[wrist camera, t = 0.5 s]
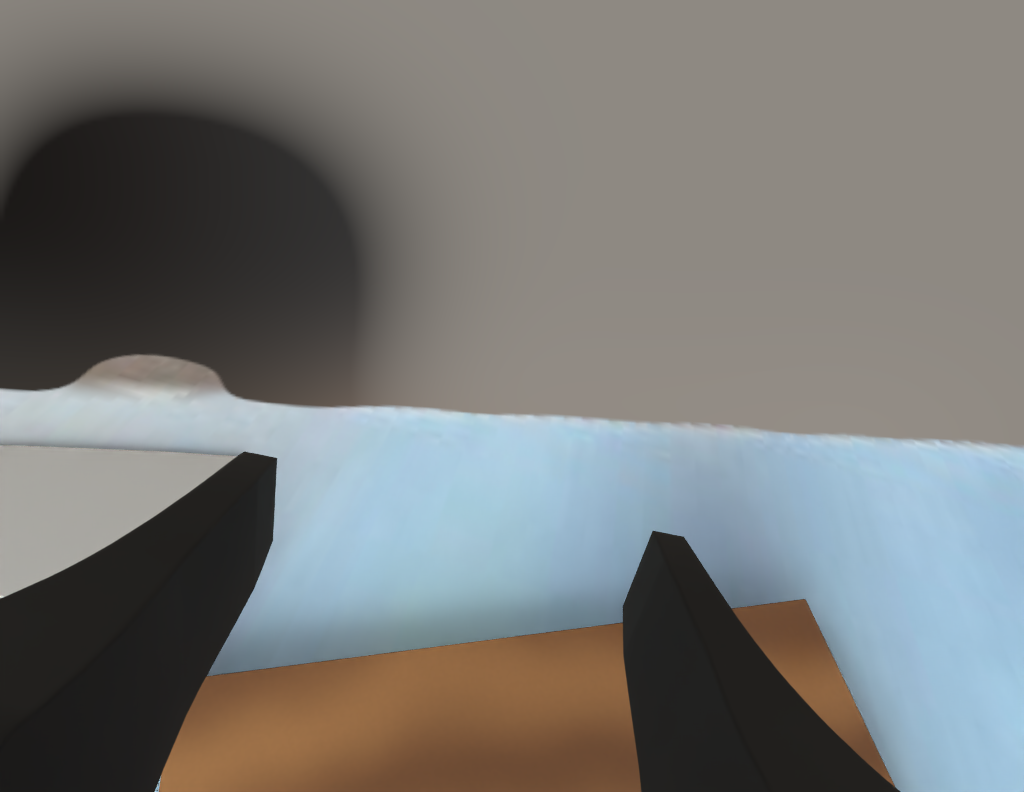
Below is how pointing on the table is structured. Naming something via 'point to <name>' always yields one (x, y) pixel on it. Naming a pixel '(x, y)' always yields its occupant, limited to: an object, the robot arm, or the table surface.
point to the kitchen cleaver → (82, 502)
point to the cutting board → (467, 715)
